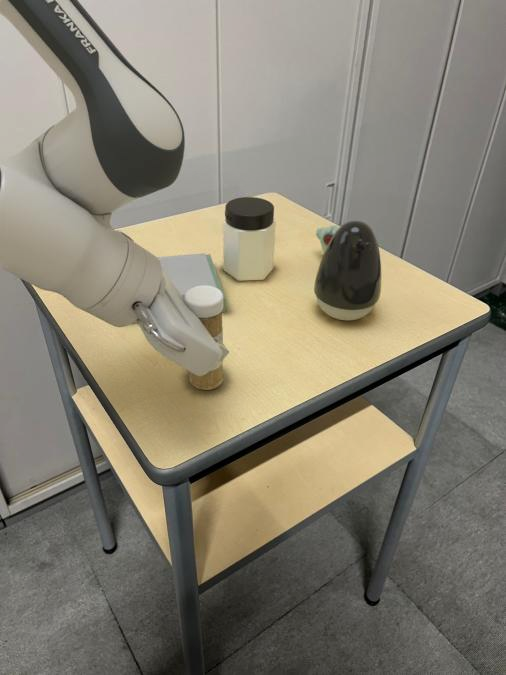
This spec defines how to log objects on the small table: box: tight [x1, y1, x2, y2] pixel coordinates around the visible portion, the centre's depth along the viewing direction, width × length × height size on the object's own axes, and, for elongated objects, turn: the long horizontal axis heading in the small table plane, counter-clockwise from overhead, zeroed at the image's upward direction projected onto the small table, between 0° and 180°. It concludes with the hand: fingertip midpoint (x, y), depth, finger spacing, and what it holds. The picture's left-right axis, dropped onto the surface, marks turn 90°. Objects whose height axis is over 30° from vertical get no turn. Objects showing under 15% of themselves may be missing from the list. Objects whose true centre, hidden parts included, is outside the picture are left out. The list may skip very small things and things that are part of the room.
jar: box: [222, 196, 277, 282], centre depth 89 cm, size 9×8×12 cm
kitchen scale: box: [156, 252, 227, 313], centre depth 85 cm, size 15×15×3 cm
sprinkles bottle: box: [184, 285, 225, 391], centre depth 64 cm, size 5×5×14 cm
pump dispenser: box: [313, 220, 382, 321], centre depth 78 cm, size 10×10×15 cm
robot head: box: [315, 224, 340, 253], centre depth 94 cm, size 8×4×7 cm, turn 55°
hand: (209, 334), depth 64 cm, fingers open, 7 cm apart
